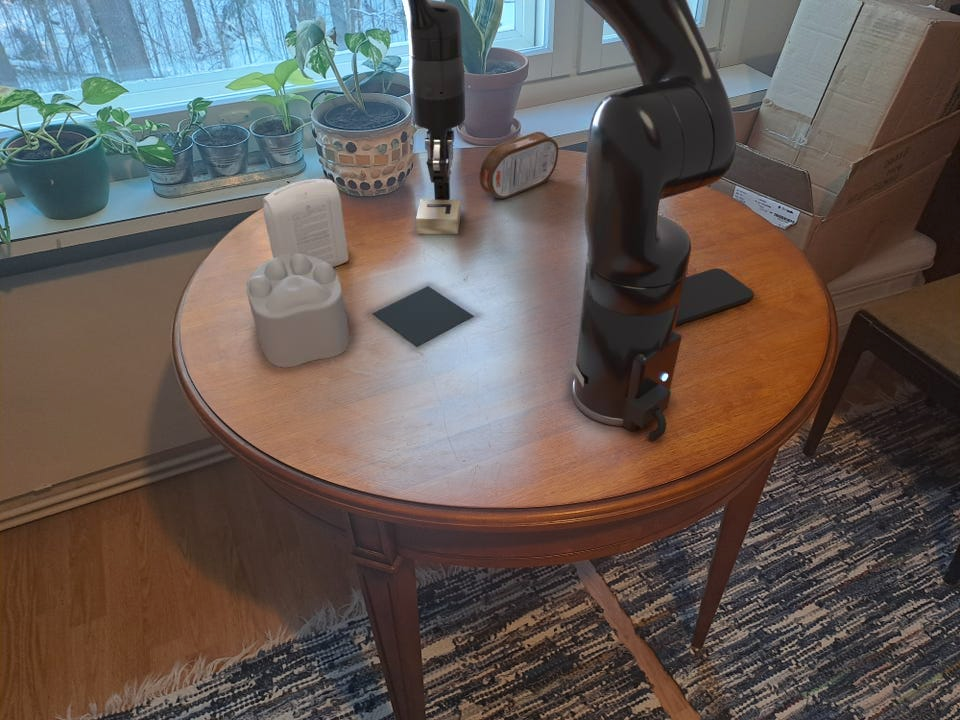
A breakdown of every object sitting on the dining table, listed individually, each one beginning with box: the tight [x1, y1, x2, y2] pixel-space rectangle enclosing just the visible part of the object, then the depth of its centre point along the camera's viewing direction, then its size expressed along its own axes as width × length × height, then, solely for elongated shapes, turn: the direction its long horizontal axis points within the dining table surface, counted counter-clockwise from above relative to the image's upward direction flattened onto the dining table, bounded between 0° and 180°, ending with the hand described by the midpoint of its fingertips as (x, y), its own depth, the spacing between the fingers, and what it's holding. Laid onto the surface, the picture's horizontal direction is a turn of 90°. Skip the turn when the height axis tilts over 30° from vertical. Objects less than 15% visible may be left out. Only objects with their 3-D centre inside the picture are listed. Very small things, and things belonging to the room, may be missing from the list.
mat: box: [372, 285, 474, 347], centre depth 89 cm, size 9×9×1 cm
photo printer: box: [262, 178, 349, 268], centre depth 93 cm, size 10×4×12 cm, turn 123°
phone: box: [675, 268, 755, 327], centre depth 90 cm, size 7×1×15 cm
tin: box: [479, 131, 559, 199], centre depth 112 cm, size 15×3×8 cm, turn 130°
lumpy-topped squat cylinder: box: [246, 253, 351, 369], centre depth 84 cm, size 10×13×9 cm
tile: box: [415, 198, 462, 235], centre depth 105 cm, size 6×6×3 cm
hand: (442, 201), depth 109 cm, fingers closed
